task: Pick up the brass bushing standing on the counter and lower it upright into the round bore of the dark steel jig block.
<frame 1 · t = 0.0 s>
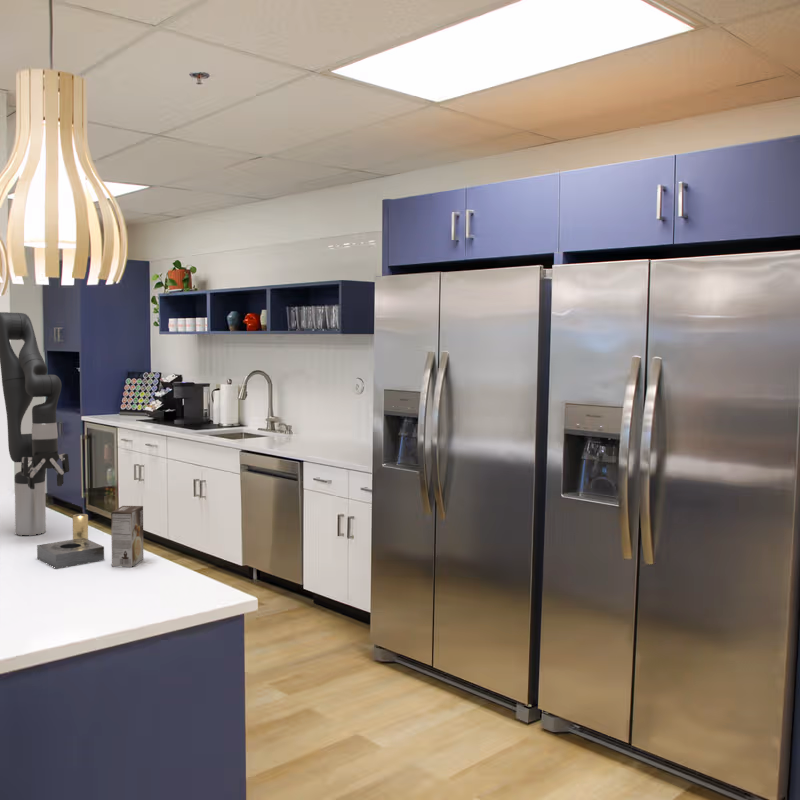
hand: (45, 487, 255), 17 cm above the worktop, tool pointing down, fingers open, 8 cm apart
jig: (70, 559, 236), on the worktop
coffee box: (127, 563, 233), on the worktop
bushing: (80, 546, 250), on the worktop
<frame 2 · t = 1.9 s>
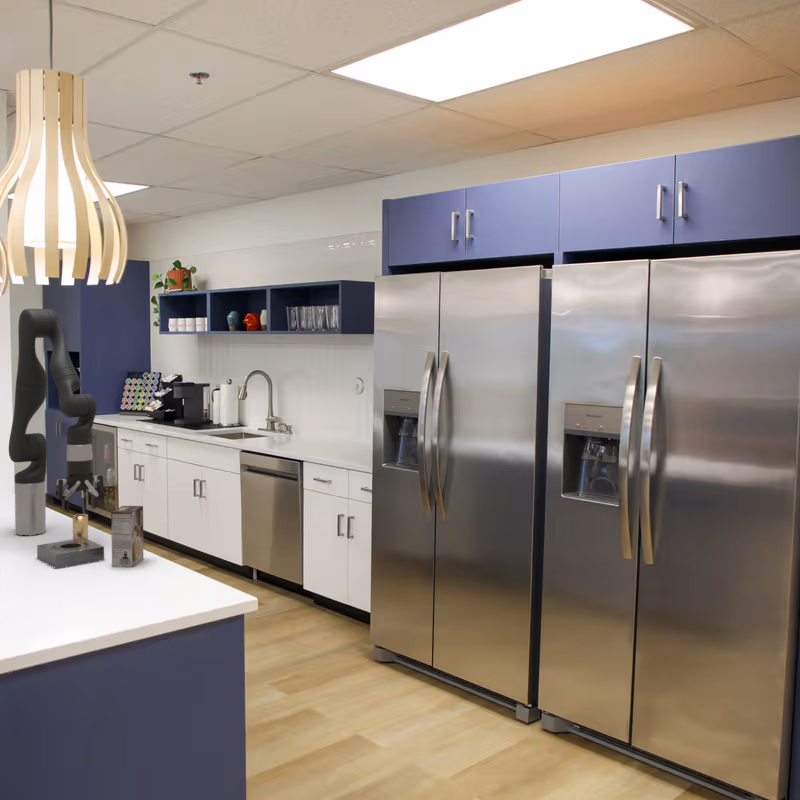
hand: (80, 510, 249), 12 cm above the worktop, tool pointing down, fingers open, 8 cm apart
nothing on the worktop moved.
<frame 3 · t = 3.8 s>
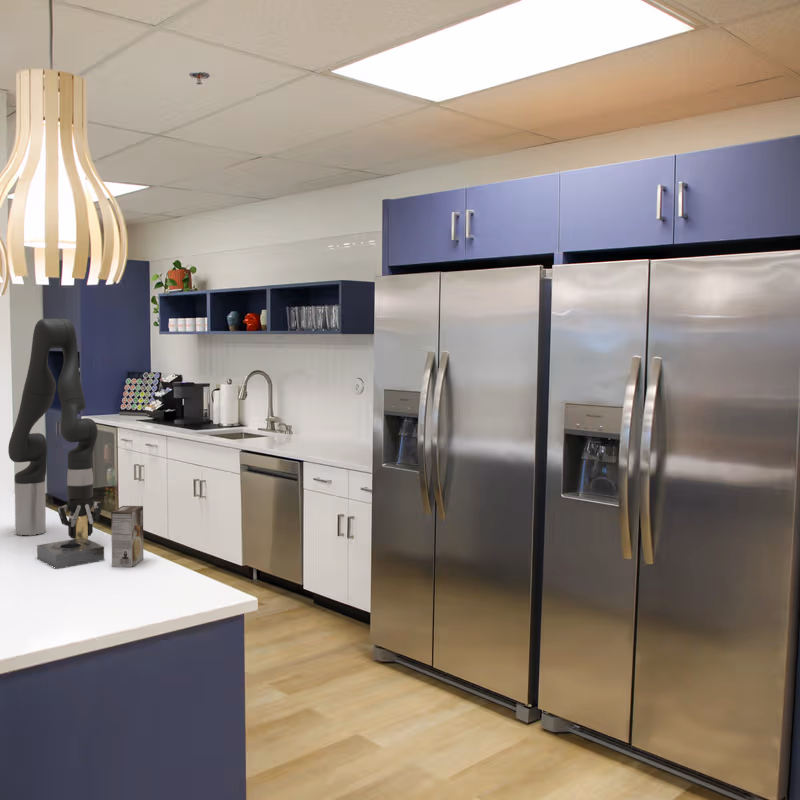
hand: (80, 536, 249), 3 cm above the worktop, tool pointing down, fingers closed on bushing, 4 cm apart
bushing: (80, 546, 250), on the worktop, touching gripper
everything else where it was.
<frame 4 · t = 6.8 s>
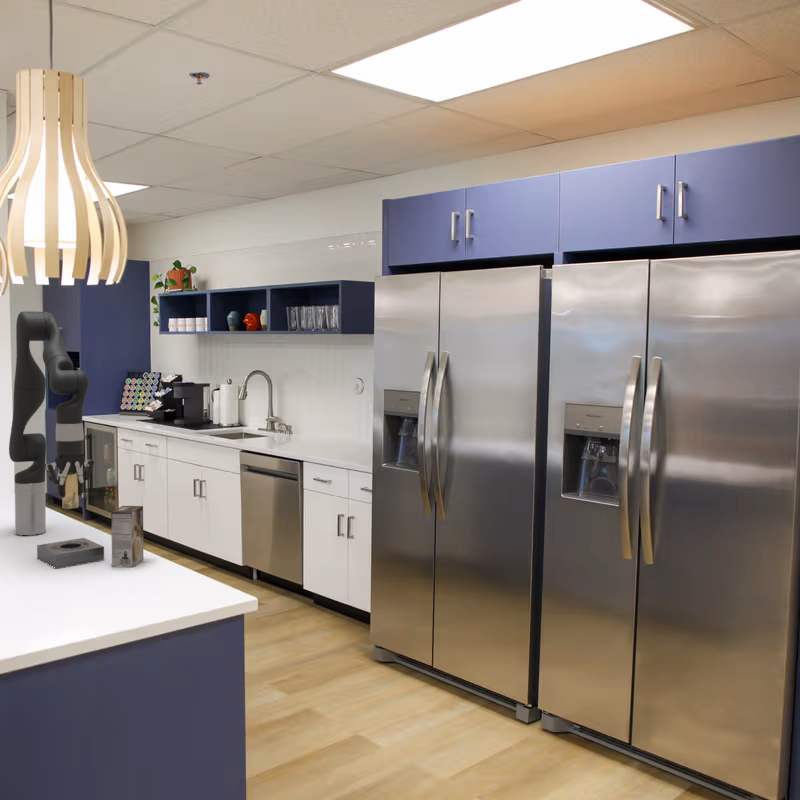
hand: (70, 496, 234), 19 cm above the worktop, tool pointing down, fingers closed on bushing, 4 cm apart
bushing: (70, 507, 234), point 16 cm above the worktop, touching gripper
everything else where it was.
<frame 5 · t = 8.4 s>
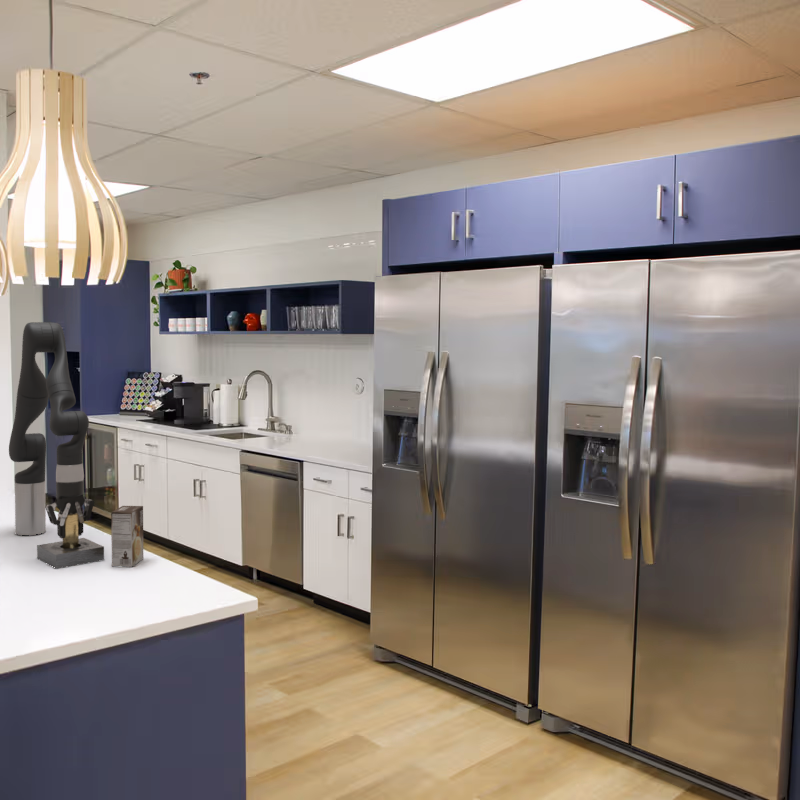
hand: (70, 536, 235), 7 cm above the worktop, tool pointing down, fingers closed on bushing, 4 cm apart
bushing: (70, 547, 235), point 4 cm above the worktop, touching gripper
everything else where it was.
when the fingers open (5 cm above the worktop, at t = 9.8 s): bushing stays where it is, resting on jig.
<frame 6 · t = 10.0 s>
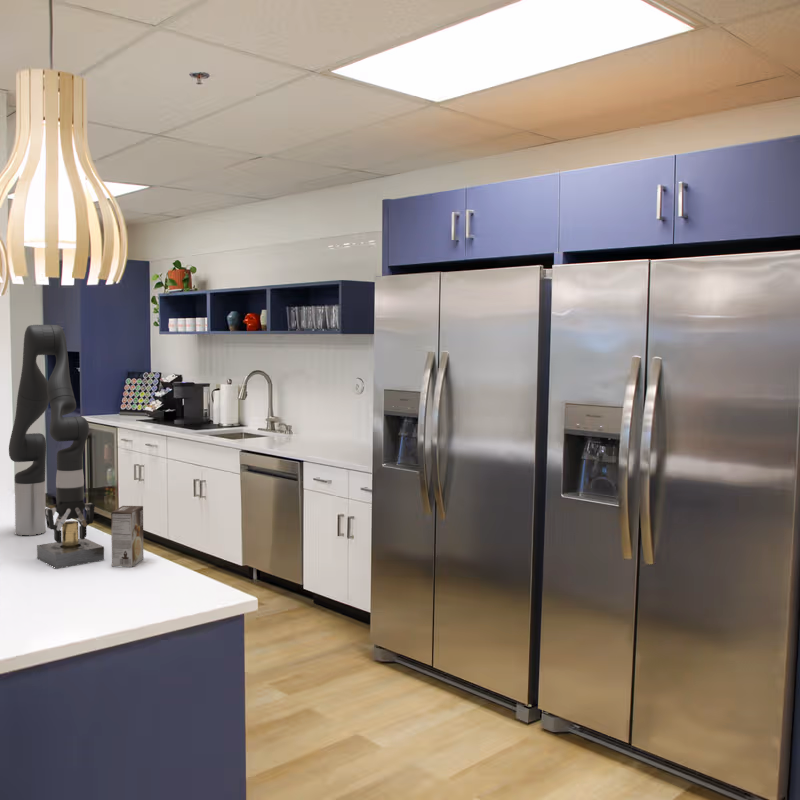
hand: (70, 540, 235), 6 cm above the worktop, tool pointing down, fingers open, 6 cm apart
bushing: (70, 555, 235), point 1 cm above the worktop, touching jig
everything else where it was.
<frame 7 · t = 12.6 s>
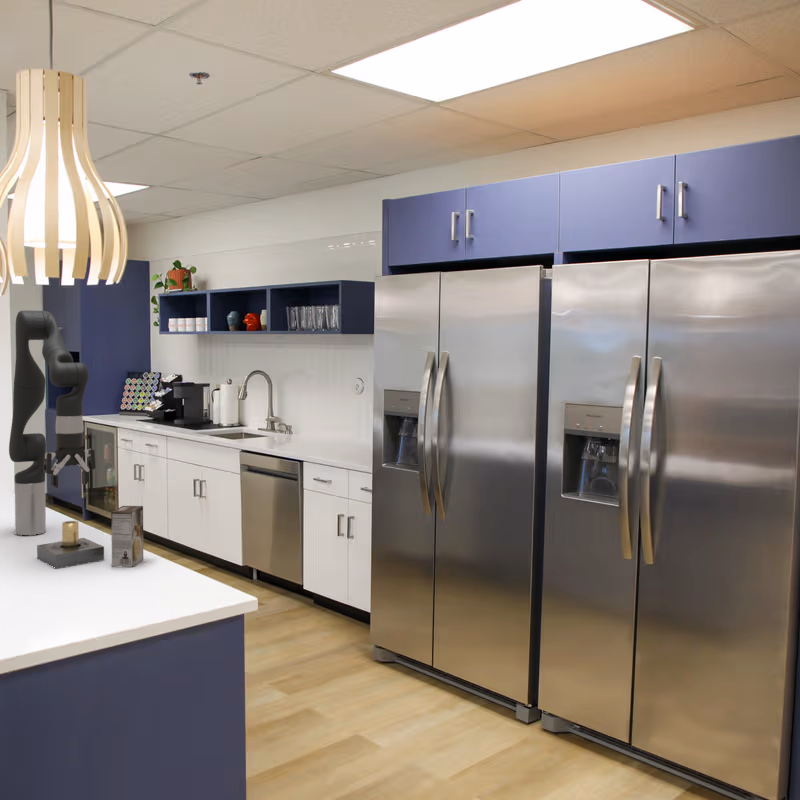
hand: (70, 485, 234), 22 cm above the worktop, tool pointing down, fingers open, 8 cm apart
nothing on the worktop moved.
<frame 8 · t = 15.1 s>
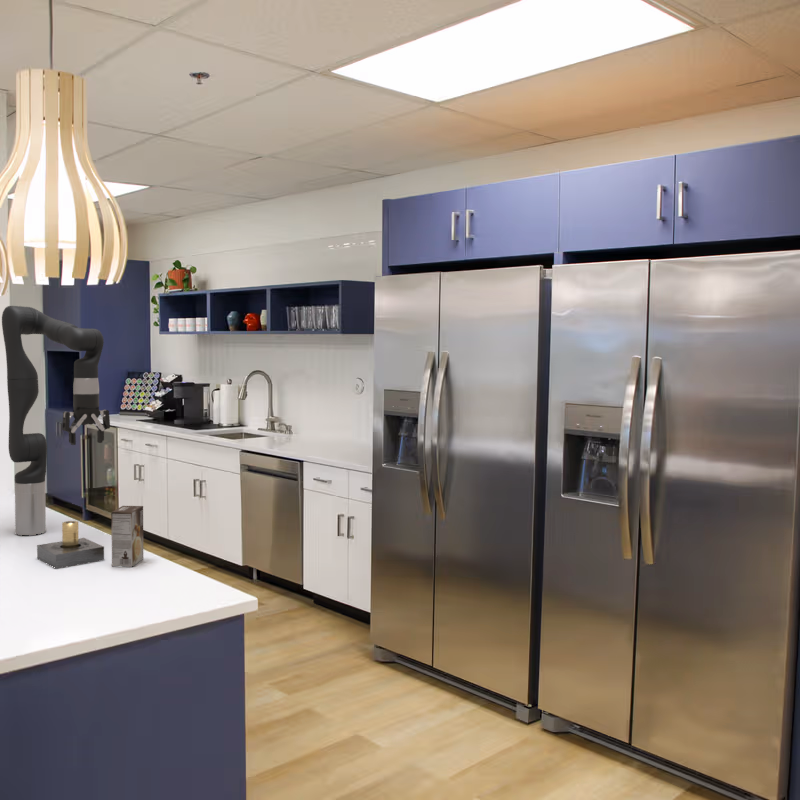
hand: (86, 443, 251), 32 cm above the worktop, tool pointing down, fingers open, 8 cm apart
nothing on the worktop moved.
at the end: bushing 0.0 cm off-centre on the jig, point 1.0 cm above the jig's base; bushing tilted 0°; the gripper is holding nothing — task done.
